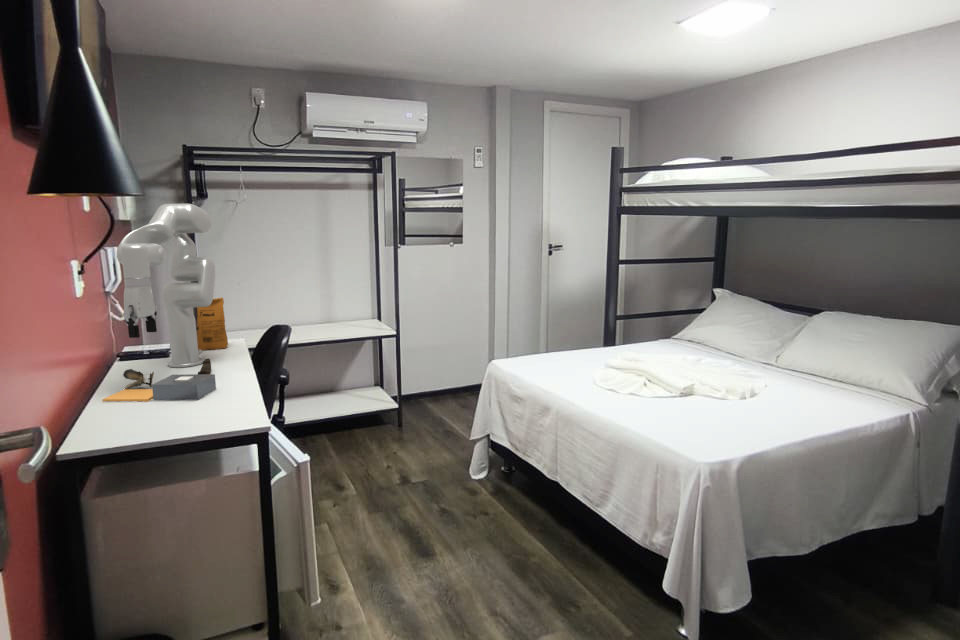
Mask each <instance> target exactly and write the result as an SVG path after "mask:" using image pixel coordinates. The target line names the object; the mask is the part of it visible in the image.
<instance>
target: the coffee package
mask: <svg viewBox="0 0 960 640" xmlns="http://www.w3.org/2000/svg"><path fill="white" fill-rule="evenodd" d="M224 301H225V300H224V298H223V297H218V298H213V300H212V303H211V305H209V306H208V307H196V317H197V318H196V322H197V323H196V331H197V342H198V350H199V349H201V350H202V352H204V351H208V350H209V349H210V350H212V351H216V349H217V350H223V349H226V348H228V345H229V342H228V340H229V339H228V336H227V332H226V331H227V330H226V321H225V320H226V319H225V318H226V317H225V310H224V303H225V302H224ZM210 350H209V351H210Z"/></svg>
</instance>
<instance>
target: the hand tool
mask: <svg viewBox="0 0 960 640" xmlns="http://www.w3.org/2000/svg"><path fill="white" fill-rule="evenodd" d="M201 365H202V366H201V368H200V370H199V371H198V372H197V374H211V372H212V362H211V359H210V358H207V357H206V358H204V361H203V363H202V364H201ZM210 371H211V372H210Z"/></svg>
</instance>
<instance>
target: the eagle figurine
mask: <svg viewBox="0 0 960 640" xmlns="http://www.w3.org/2000/svg"><path fill="white" fill-rule="evenodd" d="M154 372H155V371H152V373H151V372H150V373H146V374H145V375H144V373H143V372H142V371H138V370H134V369H133V368H128V369H126V370H125V371H124V372H123V374H122V376H123V378H124V379H127V380H131V381H133V382H132V383H131V382H130V383H129V384H127V385H126V387H124V388H125V389H134V388H137V387H139V386H141V387H142V385H148V386H149V387H150V388H152V384H153V379H154V374H155V373H154Z"/></svg>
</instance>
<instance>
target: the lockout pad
mask: <svg viewBox="0 0 960 640" xmlns="http://www.w3.org/2000/svg"><path fill="white" fill-rule="evenodd" d="M123 389H124V388H123ZM123 389H121V390H122V391H121V390H119V391H118V392H115V393H113V394H111V395H109V396H106V397H104V398H102V401H142V402H141V403H143V401H144V403H147V402H149V400H150V401H152V400H153V390H152V388H135V389H134V388H131V389H124V390H123ZM151 399H152V400H151Z"/></svg>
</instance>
